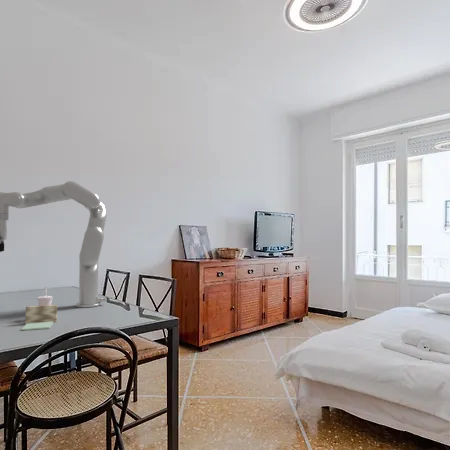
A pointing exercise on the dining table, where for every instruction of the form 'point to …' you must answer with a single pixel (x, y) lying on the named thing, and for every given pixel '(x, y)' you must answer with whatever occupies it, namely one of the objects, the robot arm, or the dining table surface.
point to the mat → (37, 326)
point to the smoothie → (45, 299)
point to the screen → (41, 314)
